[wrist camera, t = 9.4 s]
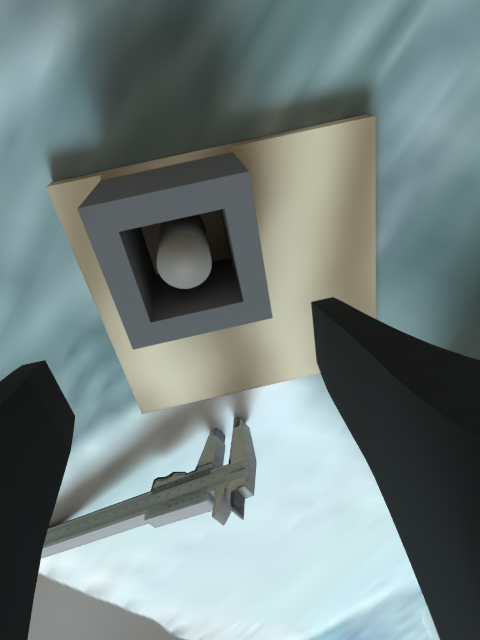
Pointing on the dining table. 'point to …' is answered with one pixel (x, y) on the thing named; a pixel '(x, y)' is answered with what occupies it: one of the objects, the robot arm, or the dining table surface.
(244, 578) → the dining table surface
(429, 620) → the honey pot
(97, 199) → the collar
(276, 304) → the post board
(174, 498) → the caliper
